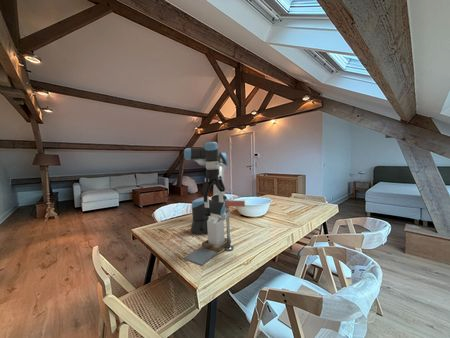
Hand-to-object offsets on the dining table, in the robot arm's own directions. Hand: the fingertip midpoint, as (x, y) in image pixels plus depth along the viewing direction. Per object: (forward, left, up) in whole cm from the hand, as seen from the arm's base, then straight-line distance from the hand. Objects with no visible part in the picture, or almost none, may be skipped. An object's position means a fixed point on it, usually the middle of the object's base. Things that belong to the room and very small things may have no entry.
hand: (214, 204), depth 109 cm
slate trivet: (0, -14, -25) cm, 28 cm away
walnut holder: (0, 0, -25) cm, 25 cm away
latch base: (+9, 0, -25) cm, 26 cm away
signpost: (+14, -2, -24) cm, 28 cm away
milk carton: (0, 0, -25) cm, 25 cm away
